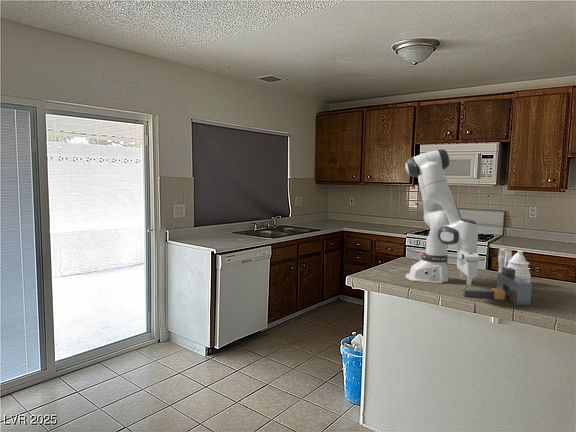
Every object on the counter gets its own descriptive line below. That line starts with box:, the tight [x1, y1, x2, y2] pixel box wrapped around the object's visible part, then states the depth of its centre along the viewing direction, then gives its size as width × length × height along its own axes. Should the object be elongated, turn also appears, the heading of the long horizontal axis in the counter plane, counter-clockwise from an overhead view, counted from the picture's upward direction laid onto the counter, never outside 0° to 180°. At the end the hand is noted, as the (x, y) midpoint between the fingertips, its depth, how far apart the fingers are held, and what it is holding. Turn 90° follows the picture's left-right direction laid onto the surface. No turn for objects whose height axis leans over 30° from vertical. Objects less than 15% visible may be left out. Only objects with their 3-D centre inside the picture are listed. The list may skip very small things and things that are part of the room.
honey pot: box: [507, 250, 532, 283], centre depth 223 cm, size 13×13×18 cm
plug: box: [462, 287, 506, 300], centre depth 195 cm, size 18×4×4 cm, turn 86°
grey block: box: [496, 267, 533, 307], centre depth 194 cm, size 6×21×13 cm, turn 176°
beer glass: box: [497, 248, 513, 273], centre depth 241 cm, size 7×7×15 cm
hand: (465, 282), depth 195 cm, fingers open, 8 cm apart
